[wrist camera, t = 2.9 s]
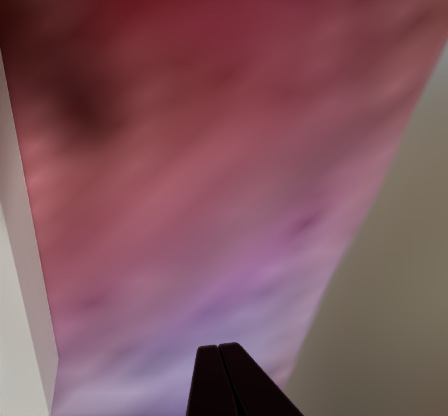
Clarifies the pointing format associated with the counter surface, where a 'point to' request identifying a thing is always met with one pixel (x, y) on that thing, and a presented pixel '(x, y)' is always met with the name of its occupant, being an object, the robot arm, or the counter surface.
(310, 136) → the counter surface
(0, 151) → the console
